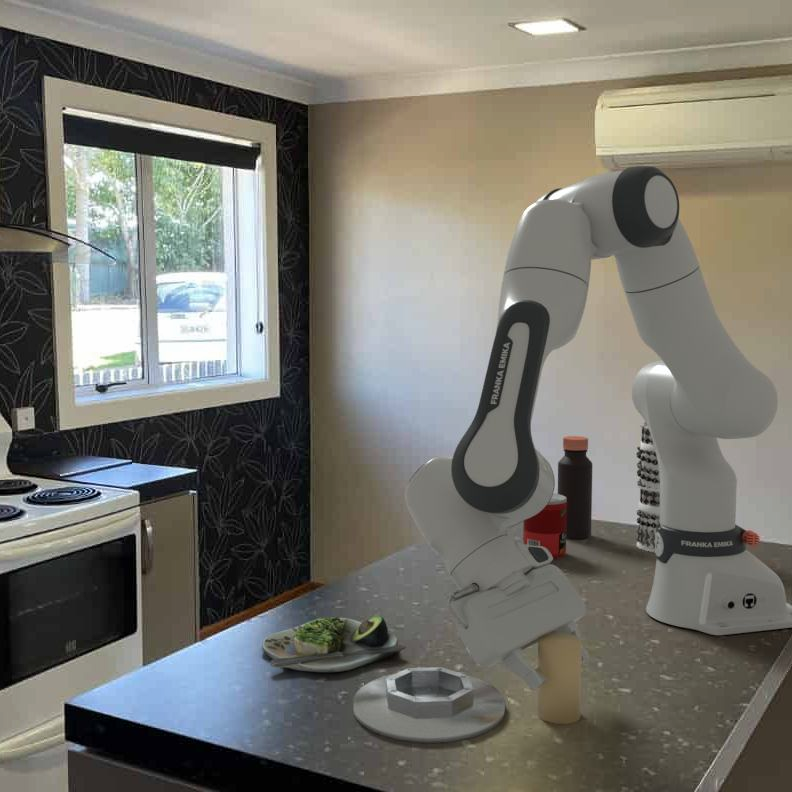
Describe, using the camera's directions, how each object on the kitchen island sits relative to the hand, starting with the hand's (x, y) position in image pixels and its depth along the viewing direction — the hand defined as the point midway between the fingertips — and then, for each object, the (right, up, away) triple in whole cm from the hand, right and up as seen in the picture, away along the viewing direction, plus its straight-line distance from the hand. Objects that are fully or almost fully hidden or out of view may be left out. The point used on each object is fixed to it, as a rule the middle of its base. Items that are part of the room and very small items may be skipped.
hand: (562, 673), depth 114 cm
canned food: (+9, +2, +70) cm, 71 cm away
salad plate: (-28, -3, +22) cm, 36 cm away
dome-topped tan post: (0, -5, +1) cm, 5 cm away
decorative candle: (+31, +3, +75) cm, 81 cm away
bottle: (+17, +4, +84) cm, 85 cm away
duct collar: (-15, -5, +3) cm, 16 cm away
